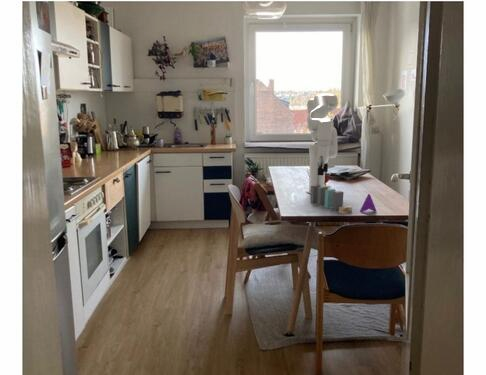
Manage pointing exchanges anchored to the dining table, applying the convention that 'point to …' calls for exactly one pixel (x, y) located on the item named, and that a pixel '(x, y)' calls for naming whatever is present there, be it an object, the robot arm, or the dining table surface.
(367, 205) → the arrowhead
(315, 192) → the tile
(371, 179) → the dining table surface
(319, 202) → the tile
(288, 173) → the dining table surface
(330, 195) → the teal tile
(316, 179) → the robot arm
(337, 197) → the tile
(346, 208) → the stop block
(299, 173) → the dining table surface
